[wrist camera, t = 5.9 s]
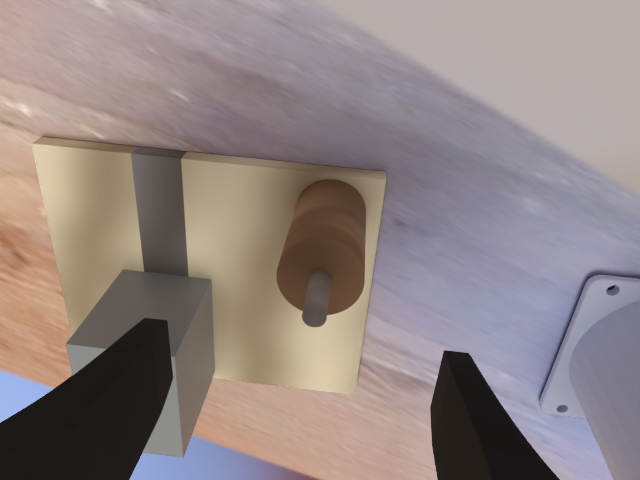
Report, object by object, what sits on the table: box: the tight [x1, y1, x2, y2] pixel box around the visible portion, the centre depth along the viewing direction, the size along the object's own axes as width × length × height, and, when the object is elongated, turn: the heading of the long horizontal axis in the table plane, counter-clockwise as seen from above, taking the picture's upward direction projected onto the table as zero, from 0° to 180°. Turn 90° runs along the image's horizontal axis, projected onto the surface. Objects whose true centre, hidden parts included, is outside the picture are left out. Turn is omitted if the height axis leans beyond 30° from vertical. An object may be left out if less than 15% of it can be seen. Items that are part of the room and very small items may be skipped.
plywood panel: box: [31, 137, 386, 395], centre depth 24 cm, size 14×12×1 cm
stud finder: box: [66, 269, 215, 458], centre depth 22 cm, size 4×6×5 cm
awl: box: [276, 179, 366, 327], centre depth 18 cm, size 3×3×7 cm
